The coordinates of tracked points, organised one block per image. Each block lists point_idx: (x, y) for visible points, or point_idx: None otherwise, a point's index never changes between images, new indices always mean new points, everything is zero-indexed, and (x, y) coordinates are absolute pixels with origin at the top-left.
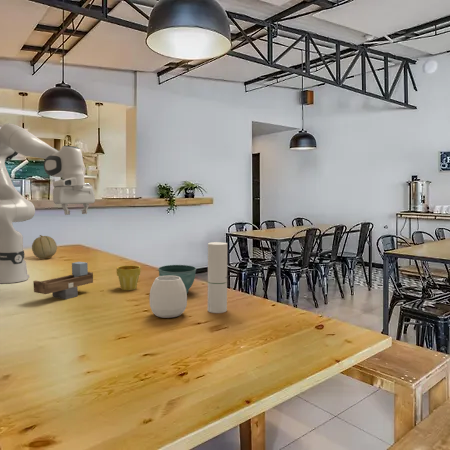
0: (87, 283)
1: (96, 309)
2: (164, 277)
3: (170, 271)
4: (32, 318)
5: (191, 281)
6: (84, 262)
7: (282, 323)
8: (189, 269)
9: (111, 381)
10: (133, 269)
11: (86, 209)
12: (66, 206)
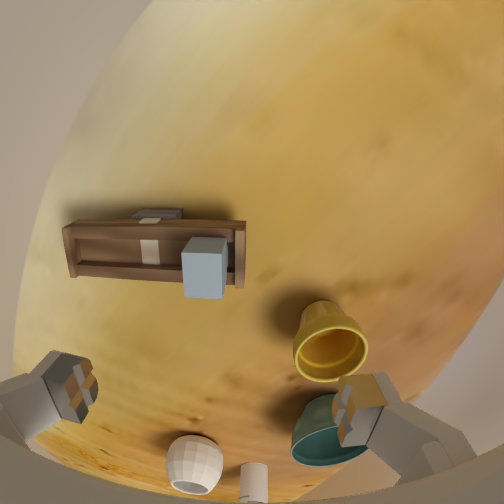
0: None
1: (144, 362)
2: (199, 481)
3: None
4: (51, 304)
5: (323, 447)
6: (219, 286)
7: None
8: None
9: (65, 441)
10: (312, 380)
11: (378, 446)
12: (21, 444)
